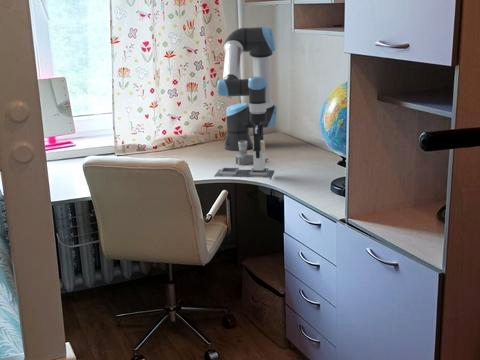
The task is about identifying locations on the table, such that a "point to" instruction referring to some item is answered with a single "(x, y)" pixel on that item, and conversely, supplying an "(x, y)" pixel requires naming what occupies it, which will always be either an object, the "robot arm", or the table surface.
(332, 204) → the table surface
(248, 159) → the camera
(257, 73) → the robot arm
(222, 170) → the panel
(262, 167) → the plug
